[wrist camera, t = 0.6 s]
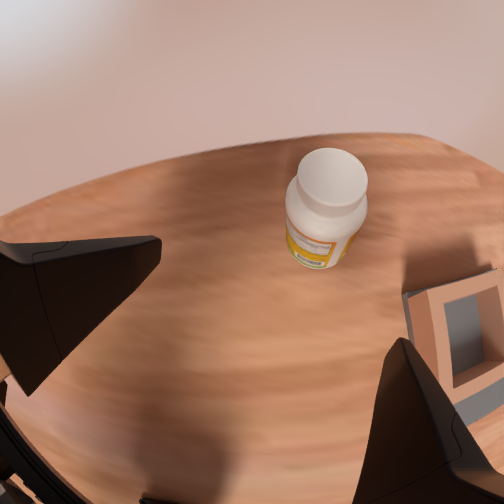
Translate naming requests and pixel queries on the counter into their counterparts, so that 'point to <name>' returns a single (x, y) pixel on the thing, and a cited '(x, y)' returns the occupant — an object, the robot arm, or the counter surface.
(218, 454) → the counter surface
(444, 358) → the socket stand
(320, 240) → the supplement bottle
